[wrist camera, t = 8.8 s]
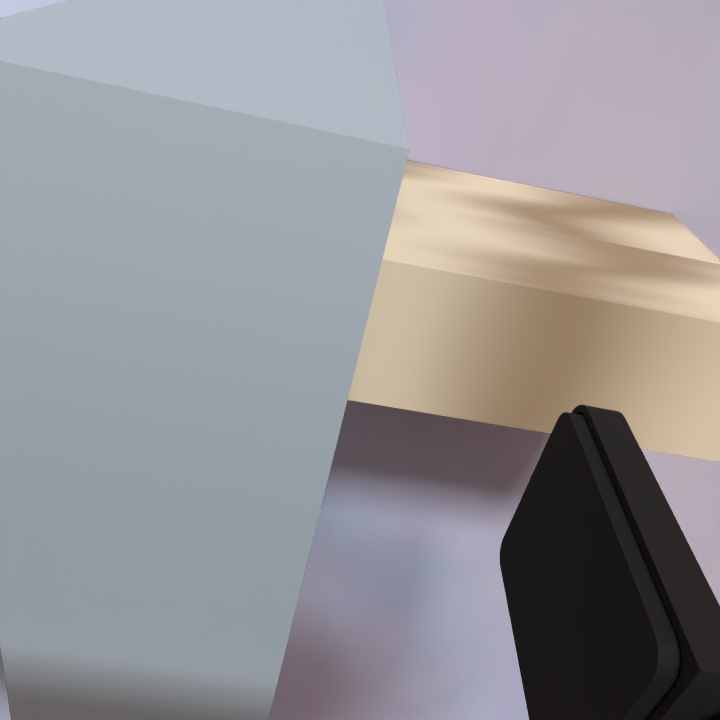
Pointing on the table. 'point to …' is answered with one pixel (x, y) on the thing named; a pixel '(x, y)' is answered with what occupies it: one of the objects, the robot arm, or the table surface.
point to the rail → (543, 312)
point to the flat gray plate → (178, 335)
